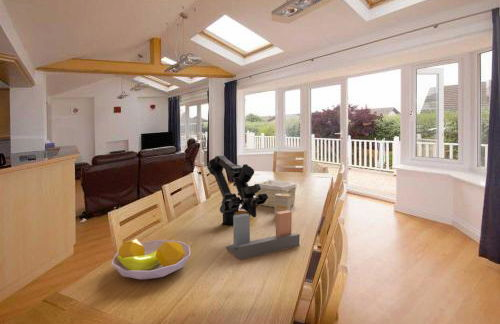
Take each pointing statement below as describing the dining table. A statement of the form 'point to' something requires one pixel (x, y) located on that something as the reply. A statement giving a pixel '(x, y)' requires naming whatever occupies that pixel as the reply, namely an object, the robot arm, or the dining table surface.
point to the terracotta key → (283, 223)
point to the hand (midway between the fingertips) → (255, 216)
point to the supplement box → (282, 202)
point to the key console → (265, 246)
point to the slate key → (241, 229)
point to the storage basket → (276, 190)
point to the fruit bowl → (150, 258)
